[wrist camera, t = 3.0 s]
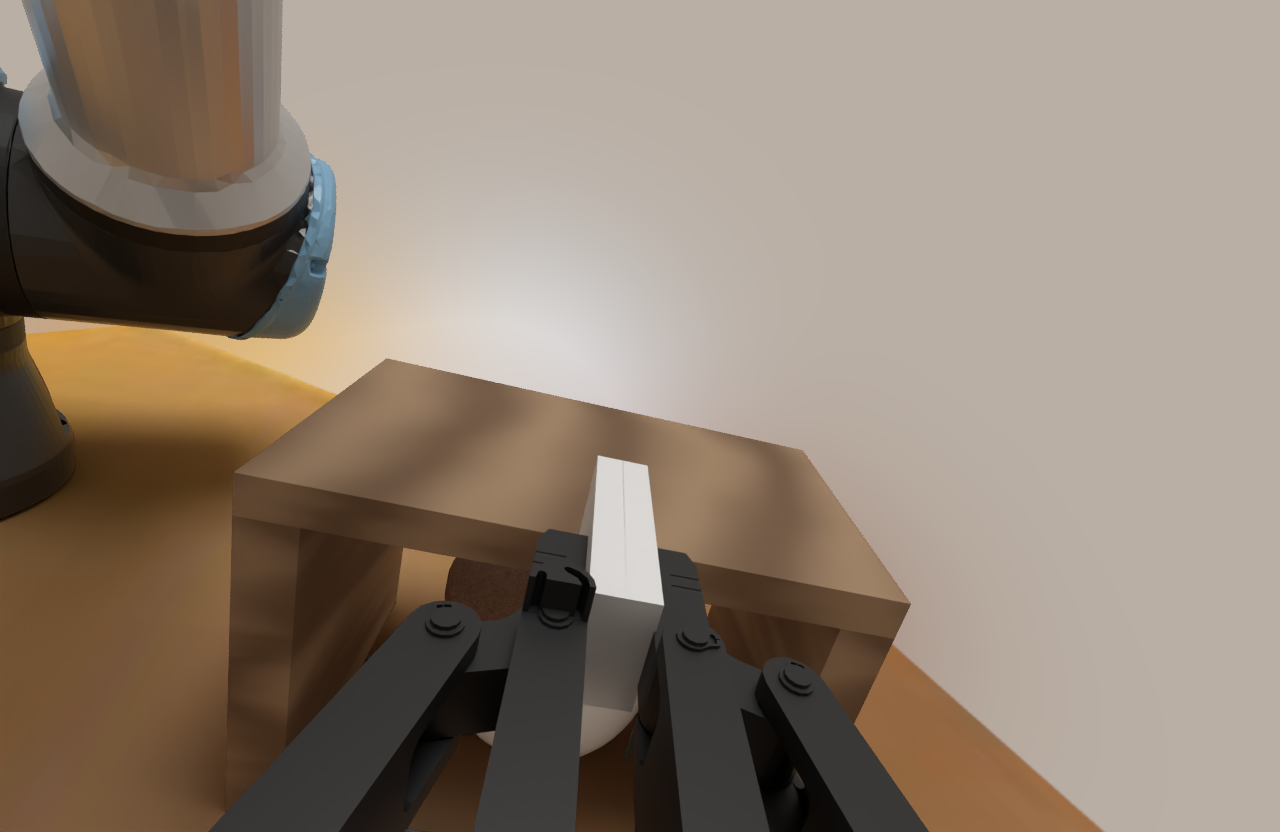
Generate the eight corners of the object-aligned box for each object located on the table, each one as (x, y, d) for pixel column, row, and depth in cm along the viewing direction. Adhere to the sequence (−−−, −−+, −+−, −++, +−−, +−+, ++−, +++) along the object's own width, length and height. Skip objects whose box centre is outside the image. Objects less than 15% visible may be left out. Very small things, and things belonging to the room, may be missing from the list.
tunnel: (225, 811, 23) (233, 472, 18) (360, 596, 35) (386, 358, 30) (776, 885, 26) (910, 603, 21) (725, 660, 38) (802, 450, 33)
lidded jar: (467, 617, 36) (493, 476, 33) (645, 661, 36) (687, 525, 33) (384, 780, 26) (410, 598, 23) (631, 838, 26) (691, 667, 23)
